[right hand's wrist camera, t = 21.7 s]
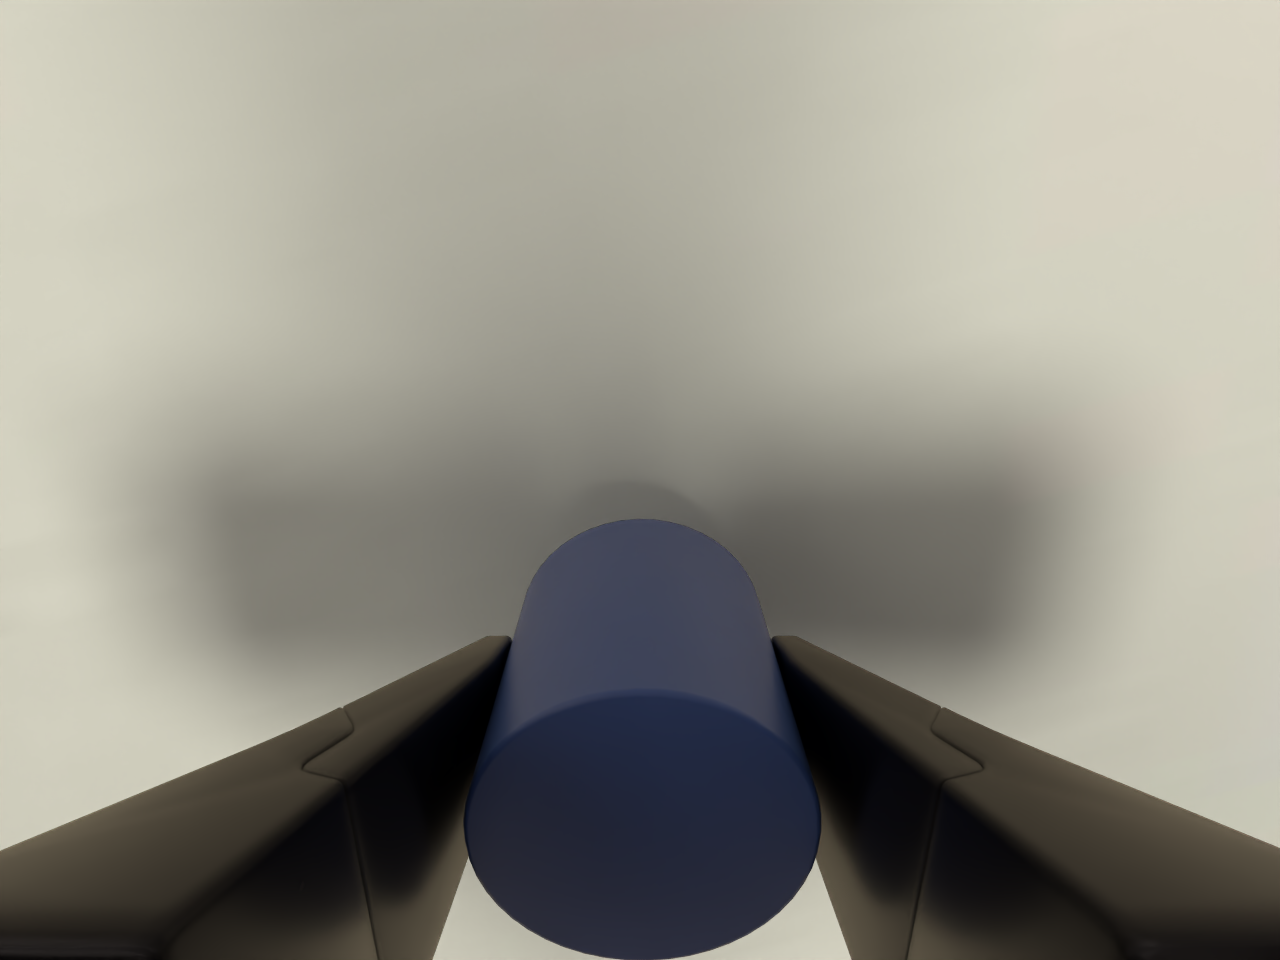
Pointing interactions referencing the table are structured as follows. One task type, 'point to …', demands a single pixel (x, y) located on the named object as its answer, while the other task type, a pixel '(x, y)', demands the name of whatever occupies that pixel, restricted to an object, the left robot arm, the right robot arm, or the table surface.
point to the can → (642, 753)
